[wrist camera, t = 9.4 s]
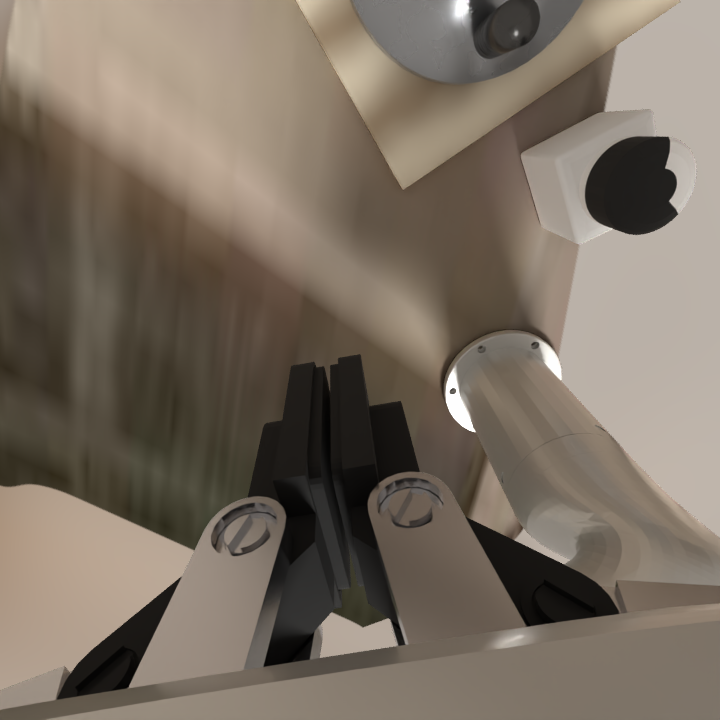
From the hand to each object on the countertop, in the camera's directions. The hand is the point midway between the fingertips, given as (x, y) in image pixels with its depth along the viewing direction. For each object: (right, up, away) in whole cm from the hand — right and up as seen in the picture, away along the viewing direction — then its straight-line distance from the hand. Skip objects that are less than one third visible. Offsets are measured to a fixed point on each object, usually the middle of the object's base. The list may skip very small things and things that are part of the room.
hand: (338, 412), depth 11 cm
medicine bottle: (+19, +18, +29) cm, 39 cm away
